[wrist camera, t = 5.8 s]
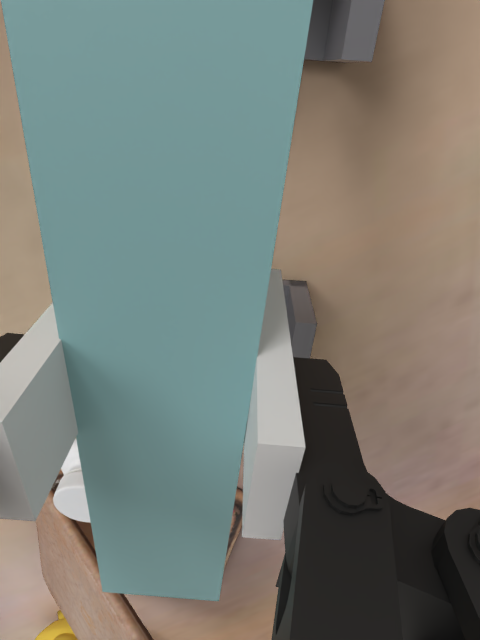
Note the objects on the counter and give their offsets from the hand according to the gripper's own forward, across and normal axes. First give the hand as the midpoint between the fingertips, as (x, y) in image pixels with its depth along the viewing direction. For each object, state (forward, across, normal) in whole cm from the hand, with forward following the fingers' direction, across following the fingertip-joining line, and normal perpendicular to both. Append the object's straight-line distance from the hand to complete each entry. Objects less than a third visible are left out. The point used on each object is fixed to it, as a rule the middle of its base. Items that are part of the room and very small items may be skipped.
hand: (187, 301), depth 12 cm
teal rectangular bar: (+1, 0, 0) cm, 1 cm away
